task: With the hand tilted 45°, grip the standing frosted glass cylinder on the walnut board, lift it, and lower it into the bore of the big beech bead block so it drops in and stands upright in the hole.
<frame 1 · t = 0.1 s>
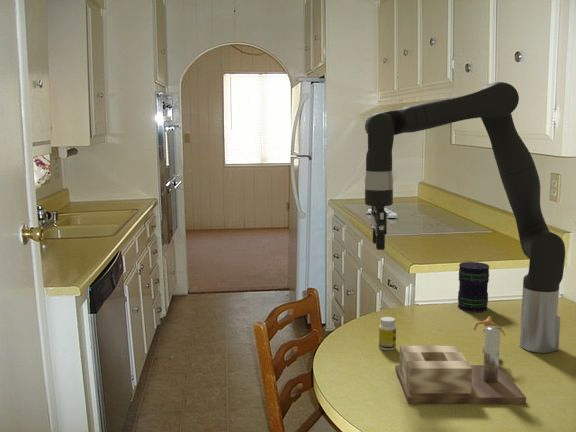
hand: (378, 246, 162), 29 cm above the table, tool pointing down, fingers open, 8 cm apart
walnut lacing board: (456, 386, 142), on the table
supplement bottle: (387, 348, 167), on the table
figurine: (488, 359, 158), on the table
beech bead block: (433, 380, 142), resting on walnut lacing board
storage jar: (472, 308, 202), on the table
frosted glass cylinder: (490, 380, 141), point 1 cm above the table, touching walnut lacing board
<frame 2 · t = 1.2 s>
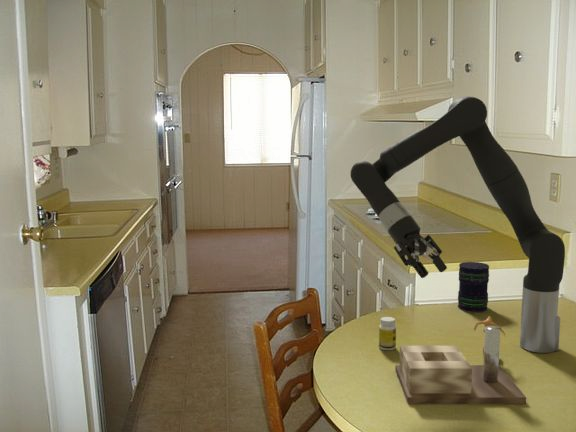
hand: (435, 273, 150), 25 cm above the table, tool tilted 45°, fingers open, 8 cm apart
nothing on the table moved.
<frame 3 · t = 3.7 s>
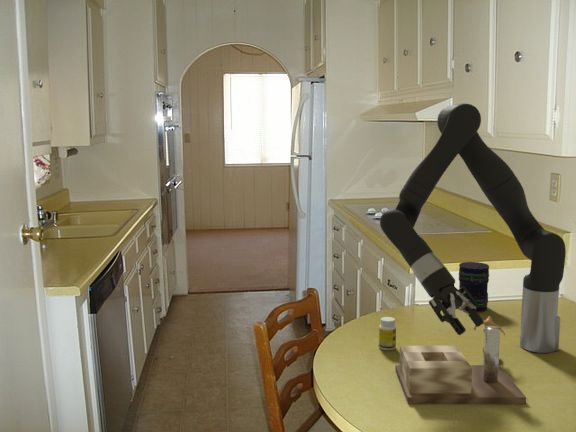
hand: (472, 328, 143), 13 cm above the table, tool tilted 45°, fingers open, 8 cm apart
nothing on the table moved.
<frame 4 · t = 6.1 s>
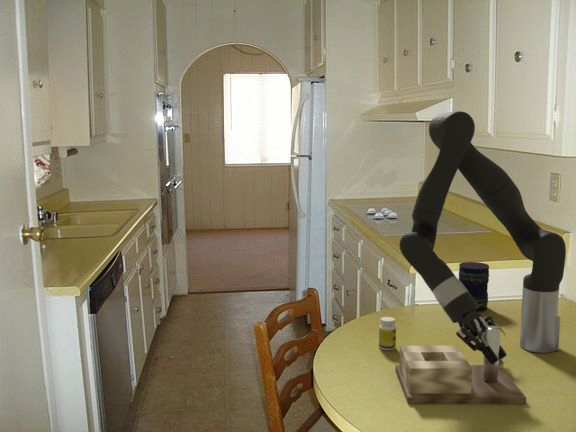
hand: (499, 359, 139), 7 cm above the table, tool tilted 45°, fingers closed on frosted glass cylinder, 3 cm apart
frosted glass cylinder: (490, 380, 141), point 2 cm above the table, touching gripper, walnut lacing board
everything else where it was.
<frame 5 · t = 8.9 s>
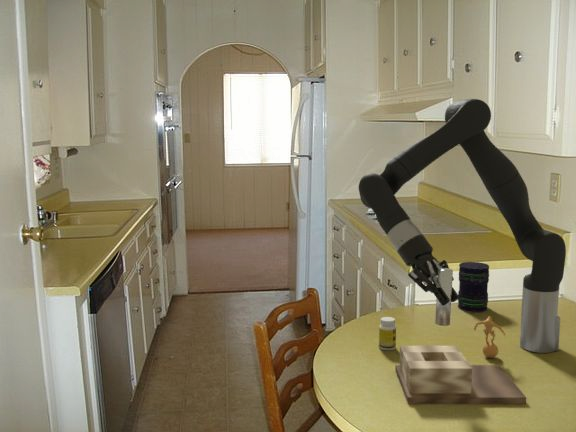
hand: (451, 301, 137), 22 cm above the table, tool tilted 45°, fingers closed on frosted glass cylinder, 3 cm apart
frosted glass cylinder: (442, 323, 139), point 16 cm above the table, touching gripper
everything else where it was.
when the fingers open (11 cm above the table, at t = 12.1 s): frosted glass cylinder drops 3 cm, resting on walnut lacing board.
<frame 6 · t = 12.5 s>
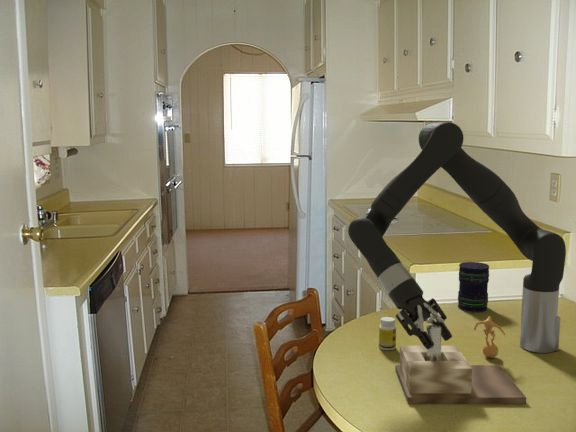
hand: (440, 343, 139), 11 cm above the table, tool tilted 45°, fingers open, 7 cm apart
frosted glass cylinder: (433, 379, 142), point 2 cm above the table, touching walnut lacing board
everything else where it was.
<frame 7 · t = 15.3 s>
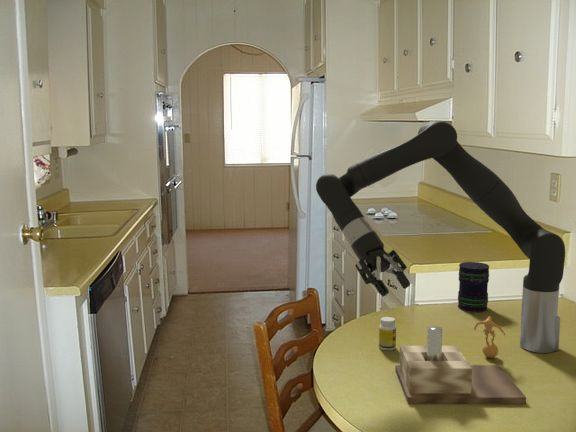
hand: (397, 290, 148), 21 cm above the table, tool tilted 45°, fingers open, 8 cm apart
nothing on the table moved.
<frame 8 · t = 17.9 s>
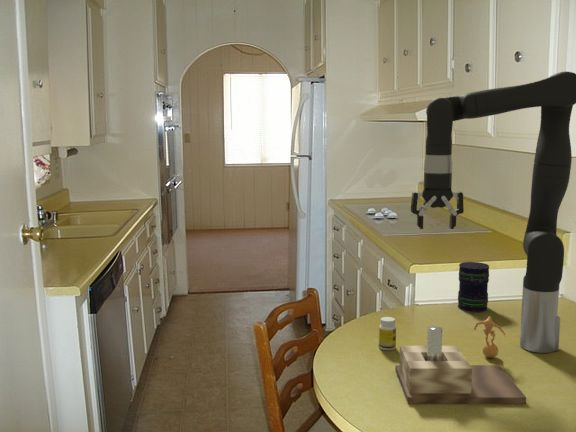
hand: (436, 228, 166), 33 cm above the table, tool pointing down, fingers open, 8 cm apart
nothing on the table moved.
at the end: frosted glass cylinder 0.1 cm off-centre on the beech bead block, point 0.0 cm above the beech bead block's base; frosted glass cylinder tilted 0°; the gripper is holding nothing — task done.
